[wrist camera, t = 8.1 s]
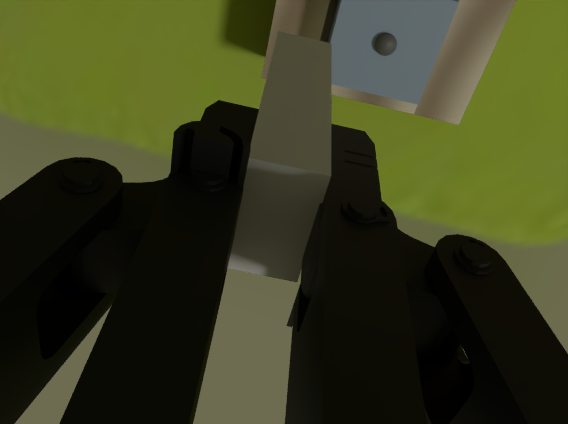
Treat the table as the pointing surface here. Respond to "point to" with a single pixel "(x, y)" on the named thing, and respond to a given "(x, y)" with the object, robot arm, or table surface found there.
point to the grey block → (388, 44)
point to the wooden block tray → (449, 64)
